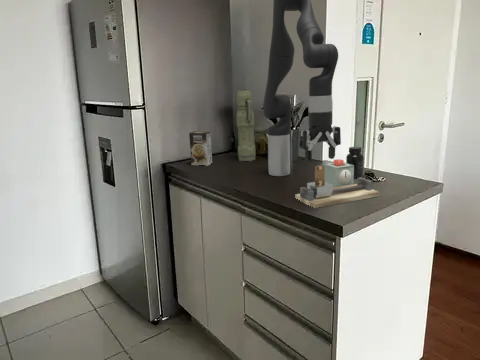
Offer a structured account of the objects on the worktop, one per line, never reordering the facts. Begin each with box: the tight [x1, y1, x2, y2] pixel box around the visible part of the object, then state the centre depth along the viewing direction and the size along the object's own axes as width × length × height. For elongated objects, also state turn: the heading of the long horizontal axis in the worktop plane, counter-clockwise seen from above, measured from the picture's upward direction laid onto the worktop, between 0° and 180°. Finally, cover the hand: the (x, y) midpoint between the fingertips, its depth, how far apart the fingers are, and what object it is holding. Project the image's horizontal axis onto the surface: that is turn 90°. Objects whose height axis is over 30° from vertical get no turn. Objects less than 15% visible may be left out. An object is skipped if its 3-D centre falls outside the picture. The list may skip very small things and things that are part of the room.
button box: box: [322, 161, 355, 188], centre depth 147 cm, size 8×8×8 cm
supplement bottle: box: [345, 146, 365, 179], centre depth 157 cm, size 7×7×12 cm
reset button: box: [333, 158, 344, 167], centre depth 146 cm, size 4×4×4 cm
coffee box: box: [188, 130, 213, 167], centre depth 191 cm, size 9×6×16 cm
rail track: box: [294, 177, 380, 209], centre depth 134 cm, size 12×26×5 cm, turn 112°
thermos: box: [235, 88, 257, 162], centre depth 194 cm, size 9×12×35 cm
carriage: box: [306, 164, 333, 198], centre depth 130 cm, size 6×6×10 cm
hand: (320, 160), depth 128 cm, fingers open, 8 cm apart
